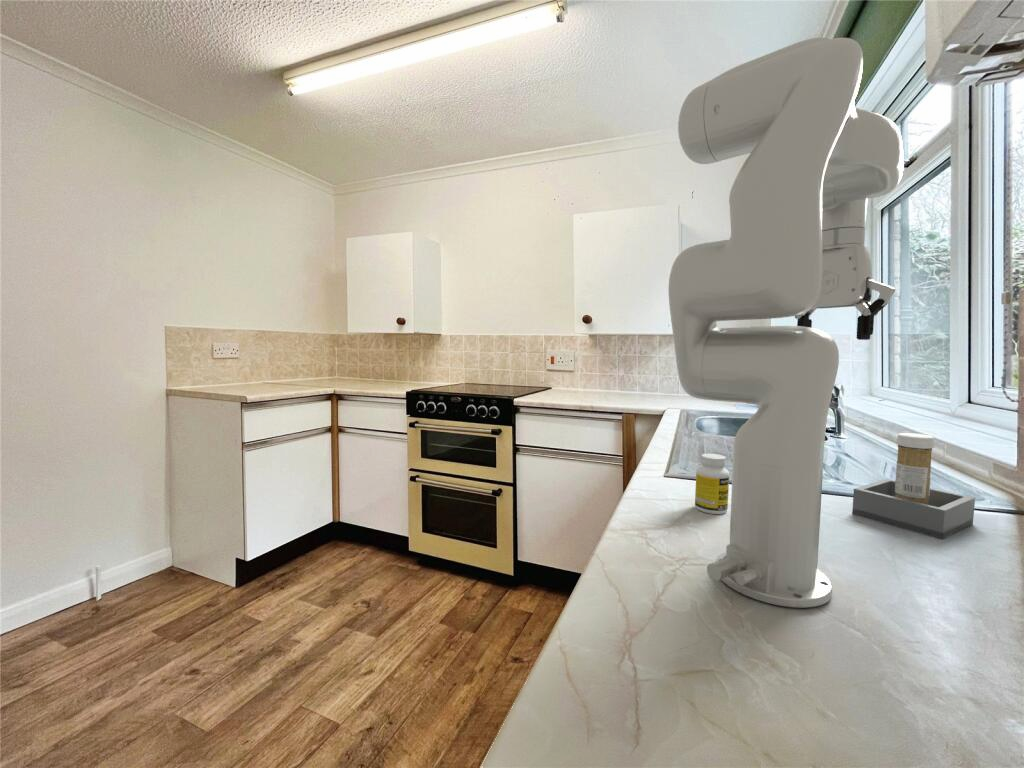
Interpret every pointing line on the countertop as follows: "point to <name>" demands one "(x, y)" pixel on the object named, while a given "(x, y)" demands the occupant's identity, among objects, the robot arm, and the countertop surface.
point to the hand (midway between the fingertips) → (832, 339)
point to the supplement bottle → (712, 485)
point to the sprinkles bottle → (913, 467)
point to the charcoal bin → (914, 509)
